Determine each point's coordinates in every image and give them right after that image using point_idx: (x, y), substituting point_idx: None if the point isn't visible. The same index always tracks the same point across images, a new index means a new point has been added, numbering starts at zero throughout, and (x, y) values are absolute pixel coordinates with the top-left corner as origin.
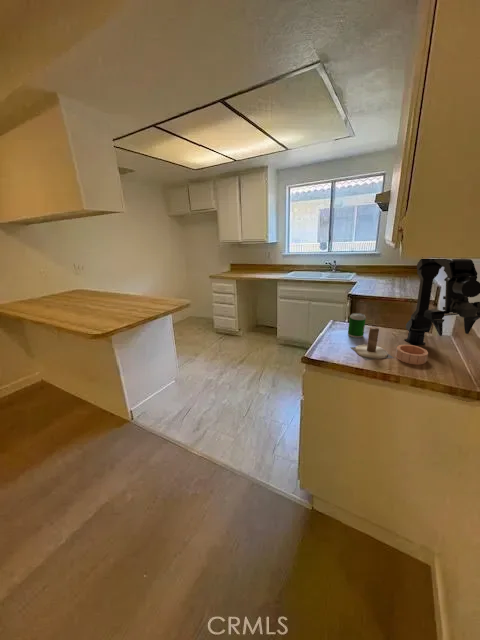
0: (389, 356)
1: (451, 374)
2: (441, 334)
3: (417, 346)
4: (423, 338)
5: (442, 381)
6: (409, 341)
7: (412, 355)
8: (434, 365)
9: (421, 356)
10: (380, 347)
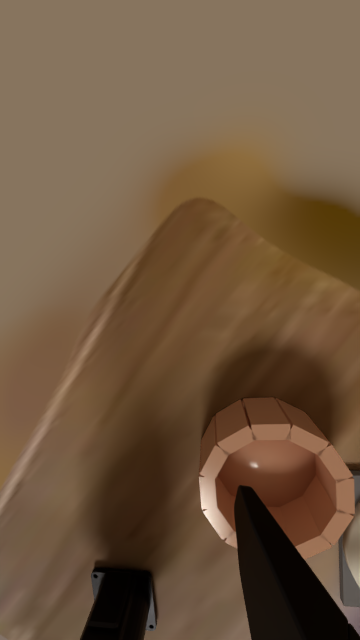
0: (354, 490)
1: (181, 313)
2: (253, 499)
3: (213, 524)
4: (98, 603)
5: (262, 263)
6: (149, 603)
7: (319, 436)
8: (194, 390)
9: (272, 421)
10: (357, 576)
